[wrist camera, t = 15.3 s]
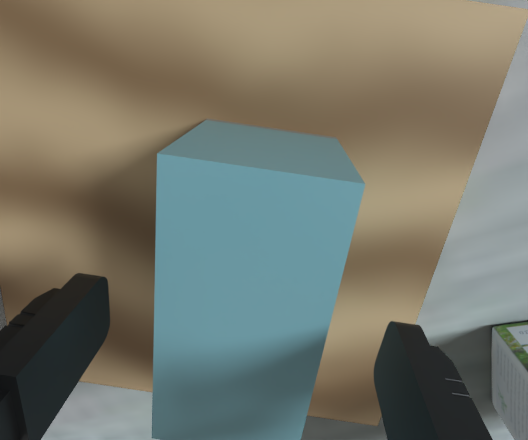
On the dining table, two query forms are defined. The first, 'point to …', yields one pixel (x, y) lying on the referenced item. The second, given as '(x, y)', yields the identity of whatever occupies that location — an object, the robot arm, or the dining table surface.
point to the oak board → (246, 112)
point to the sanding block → (246, 277)
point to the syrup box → (511, 377)
